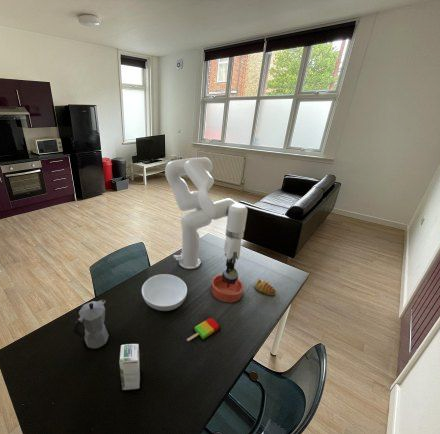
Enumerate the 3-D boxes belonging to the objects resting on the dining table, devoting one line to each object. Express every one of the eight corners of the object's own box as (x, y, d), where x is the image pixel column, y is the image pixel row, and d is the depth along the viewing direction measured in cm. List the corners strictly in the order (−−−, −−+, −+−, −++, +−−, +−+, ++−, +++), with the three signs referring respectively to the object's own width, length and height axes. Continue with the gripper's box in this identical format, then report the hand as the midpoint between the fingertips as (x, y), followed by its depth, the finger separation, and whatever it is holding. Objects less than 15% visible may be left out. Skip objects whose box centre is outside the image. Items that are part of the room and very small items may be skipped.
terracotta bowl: (213, 302, 111) (214, 294, 108) (209, 281, 124) (210, 273, 122) (245, 303, 110) (246, 295, 108) (237, 282, 123) (239, 274, 121)
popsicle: (220, 328, 98) (220, 325, 97) (191, 347, 90) (191, 344, 89) (210, 319, 102) (211, 316, 101) (182, 336, 94) (182, 333, 94)
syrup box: (123, 372, 82) (119, 344, 75) (140, 371, 82) (138, 342, 76) (122, 390, 77) (118, 361, 70) (140, 389, 77) (138, 360, 71)
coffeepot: (100, 321, 101) (95, 288, 93) (117, 331, 96) (113, 298, 89) (70, 350, 89) (61, 315, 82) (87, 363, 85) (80, 327, 77)
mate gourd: (235, 289, 111) (242, 269, 102) (218, 286, 113) (223, 265, 103) (236, 277, 116) (242, 256, 107) (219, 273, 118) (224, 252, 109)
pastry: (277, 291, 117) (278, 285, 115) (271, 298, 113) (273, 292, 111) (258, 282, 123) (260, 276, 121) (252, 288, 119) (253, 282, 117)
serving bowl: (137, 290, 118) (137, 279, 115) (177, 281, 124) (177, 270, 121) (148, 323, 100) (148, 310, 97) (194, 310, 106) (194, 299, 103)
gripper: (222, 224, 110) (219, 257, 118) (229, 241, 96) (224, 278, 104) (239, 224, 109) (234, 258, 117) (248, 242, 95) (242, 278, 103)
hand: (229, 267), depth 110 cm, fingers closed on mate gourd, 1 cm apart
